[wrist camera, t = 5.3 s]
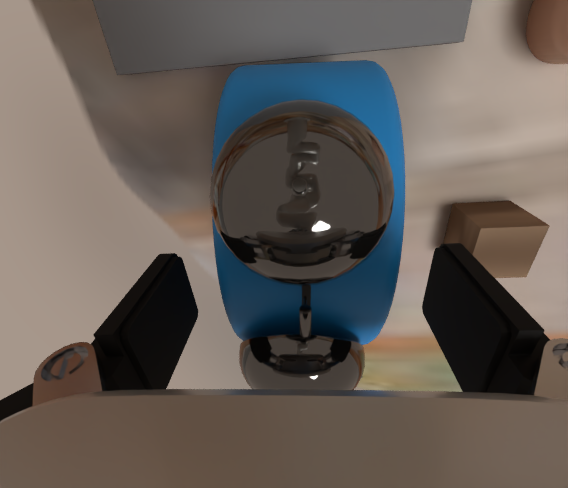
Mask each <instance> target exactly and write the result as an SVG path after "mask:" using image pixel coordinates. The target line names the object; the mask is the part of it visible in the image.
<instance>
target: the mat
mask: <svg viewBox="0 0 568 488" xmlns="http://www.w3.org/2000/svg"><path fill="white" fill-rule="evenodd" d="M93 3H94V6H95V9H96V12H97V15H98V19H99V22H100V25H101V28H102V31H103V34H104V37H105V40H106V43H107V46H108V49H109V52H110V55H111V58H112V61H113V64H114V67H115V70H116V73H117V75H127V74H137V73H147V72H158V71H168V70H179V69H189V68H199V67H210V66H220V65H230V64H241V63H251V62H262V61H272V60H282V59H293V58H303V57H313V56H324V55H334V54H345V53H355V52H365V51H376V50H386V49H396V48H407V47H417V46H428V45H438V44H448V43H458V42H463V41H464V38H465V33H466V28H467V23H468V18H469V13H470V8H471V3H472V0H93Z"/></svg>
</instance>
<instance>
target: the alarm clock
mask: <svg viewBox="0 0 568 488" xmlns="http://www.w3.org/2000/svg"><path fill="white" fill-rule="evenodd" d="M210 203H211V211H212V220H213V235H214V247H215V257H216V265H217V272H218V279H219V284H220V290H221V294H222V299H223V303H224V307H225V310H226V314H227V316H228V319H229V321H230V324H231V325H232V328H233V330H234V332H235V333H236V334H237V336H238V337H239V338H241V339H242V340H243V342H242V343H241V344H240V351H239V363H240V367H241V371H242V374H243V376H244V378H245V380H246V382H247V383H248V385H249V386H250V387H251V388H252V389H267V390H354V388H356V386H357V385H358V383H359V381H360V379H361V378H362V375H363V371H364V367H365V352H364V347H363V345H364V344H368V343H369V342H371V341H372V340H373V339H375V338H376V337H377V335H378V334H379V333H380V331H381V329H382V327H383V325H384V323H385V321H386V319H387V316H388V314H389V311H390V308H391V305H392V301H393V297H394V293H395V289H396V283H397V278H398V273H399V266H400V259H401V251H402V242H403V229H404V212H405V161H404V146H403V135H402V127H401V120H400V114H399V108H398V104H397V100H396V96H395V93H394V90H393V87H392V84H391V82H390V80H389V78H388V75H387V73H386V72H385V70H384V69H383V68H382V67H381V66H379V65H378V64H377V63H376V62H373V61H367V60H360V61H337V62H313V63H290V64H266V65H244V66H241V67H237V68H236V69H235V70H234V71H233V72H232V73H231V74H230V76H229V77H228V79H227V81H226V84H225V86H224V89H223V91H222V95H221V98H220V102H219V107H218V112H217V118H216V125H215V134H214V143H213V159H212V176H211V186H210Z"/></svg>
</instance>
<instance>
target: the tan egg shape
mask: <svg viewBox="0 0 568 488" xmlns="http://www.w3.org/2000/svg"><path fill="white" fill-rule="evenodd" d="M526 38H527V43H528V46H529V48H530V50H531V52H532V53H533V55H534V56H535V57H536V58H538V59H539V60H541V61H543V62H546V63H550V64H568V0H534V1H533V4H532V6H531V9H530V12H529V15H528V19H527V26H526Z"/></svg>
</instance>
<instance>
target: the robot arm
mask: <svg viewBox="0 0 568 488" xmlns="http://www.w3.org/2000/svg"><path fill="white" fill-rule="evenodd" d="M422 309H423V314H424V316H425V318H426V320H427V322H428V324H429V326H430V328H431V330H432V332H433V334H434V336H435V338H436V340H437V342H438V344H439V346H440V348H441V350H442V352H443V353H444V355H445V357H446V359H447V361H448V363H449V365H450V367H451V369H452V371H453V373H454V375H455V377H456V379H457V381H458V383H459V385H460V387H461V389H462V391H463V392H446V391H377V390H267V389H248V390H247V389H166V388H167V386H168V383H169V381H170V379H171V377H172V374H173V372H174V370H175V367H176V365H177V363H178V361H179V358H180V356H181V354H182V352H183V349H184V347H185V345H186V343H187V340H188V338H189V335H190V333H191V331H192V329H193V327H194V324H195V322H196V320H197V317H198V309H197V305H196V302H195V298H194V295H193V292H192V289H191V286H190V282H189V279H188V276H187V273H186V270H185V266H184V263H183V260H182V258H181V257H178V256H177V254H175V253H173V254H172V253H171V254H159V255H158V256H157V257H156V259H155V260H154V261H153V262H152V264H151V265H150V266H149V267H148V269H147V270H146V271H145V272H144V273H143V275H142V276H141V277H140V278H139V279H138V281H137V282H136V283H135V284H134V286H133V287H132V288H131V289H130V291H129V292H128V293H127V294H126V295H125V297H124V298H123V299H122V300H121V302H120V303H119V304H118V306H117V307H116V308H115V309H114V310H113V311H112V313H111V314H110V315H109V316H108V318H107V319H106V320H105V321H104V323H103V324H102V325H101V326H100V327H99V329H98V330H97V331H96V332H95V333H94V337H95V340H94V341H93V342H92V343H91V344H89V343H87V342H79V343H73V344H70V345H68V346H65V347H63V348H61V349H59V350H57V351H55V352H54V353H53V354H51V355H50V356H49V357H47V358H46V359H45V360H44V361H43V362H42V363H41V364H40V366H39V367H38V368H37V370H36V372H35V375H34V383H32V384H30V385H28V386H27V387H25V388H23V389H21V390H19V391H17V392H15V393H13V394H11V395H10V396H8V397H6V398H4V399H2V400H0V488H568V339H563V338H560V339H552V340H550V339H549V338H548V337H547V336H546V335H545V334H544V333H543V332H544V329H543V328H542V327H541V326H540V325H539V324H538V323H537V322H536V321H535V320H534V319H533V318H532V317H531V316H530V315H529V314H528V312H527V311H526V310H525V309H524V308H523V307H522V306H521V305H520V304H519V303H518V302H517V301H516V300H515V299H514V298H513V297H512V296H511V295H510V294H509V293H508V292H507V290H506V289H505V288H504V287H503V286H502V285H501V284H500V283H499V282H498V281H497V280H496V279H495V278H494V277H493V276H492V275H491V274H490V273H489V272H488V271H487V270H486V269H485V267H484V266H483V265H482V264H481V263H480V262H479V261H478V260H477V259H476V258H475V257H474V256H473V255H472V254H471V253H470V252H469V251H468V250H467V249H466V248H465V247H464V245H462V244H461V243H446V244H441V246H440V248H436V249H435V251H434V255H433V260H432V264H431V269H430V273H429V278H428V282H427V287H426V291H425V296H424V300H423V305H422Z"/></svg>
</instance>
